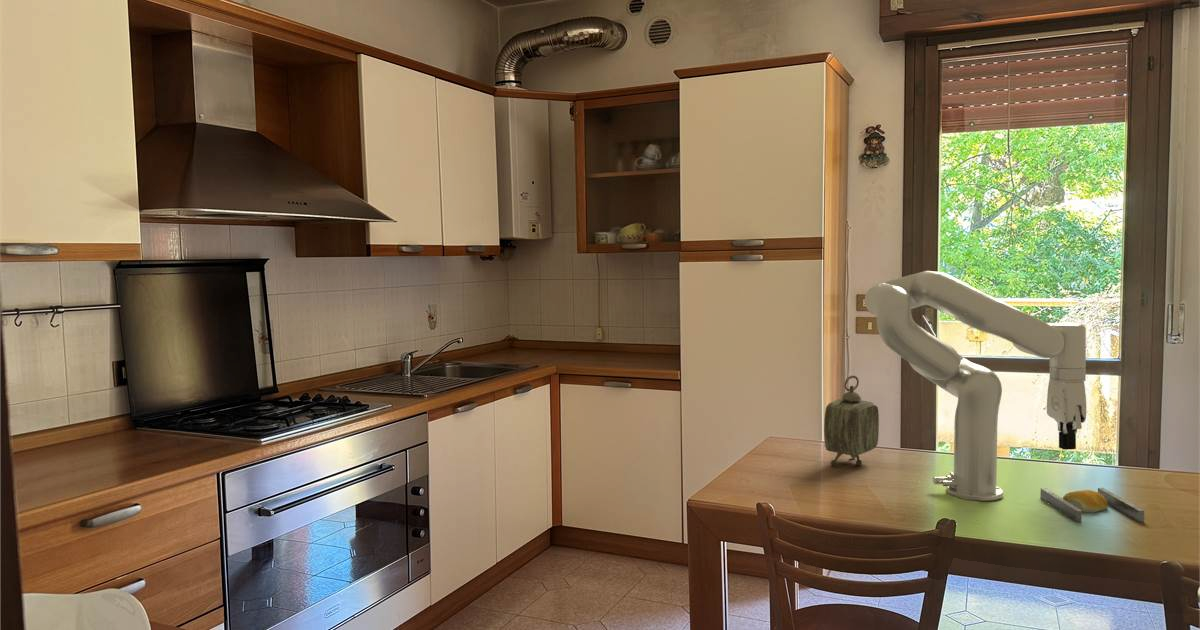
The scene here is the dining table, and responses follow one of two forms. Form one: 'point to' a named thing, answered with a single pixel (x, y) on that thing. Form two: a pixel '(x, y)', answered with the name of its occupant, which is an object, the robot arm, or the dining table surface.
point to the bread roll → (1086, 500)
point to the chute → (1077, 513)
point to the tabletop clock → (851, 425)
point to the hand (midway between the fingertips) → (1067, 448)
